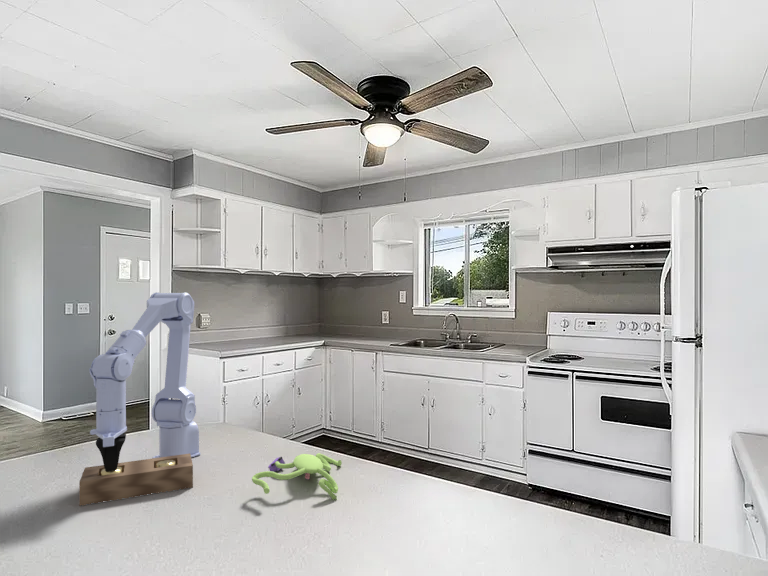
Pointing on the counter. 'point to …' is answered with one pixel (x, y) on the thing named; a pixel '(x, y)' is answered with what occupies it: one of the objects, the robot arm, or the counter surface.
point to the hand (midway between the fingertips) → (111, 470)
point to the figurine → (301, 471)
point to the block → (135, 479)
